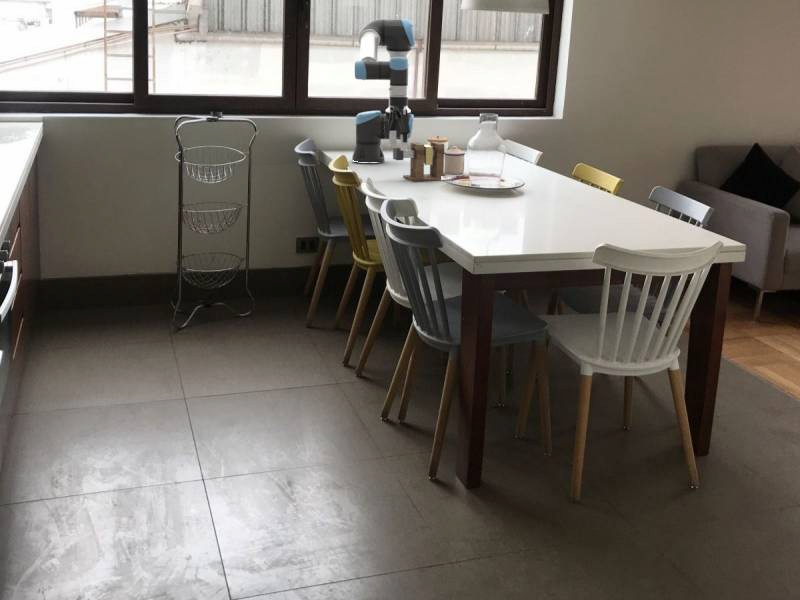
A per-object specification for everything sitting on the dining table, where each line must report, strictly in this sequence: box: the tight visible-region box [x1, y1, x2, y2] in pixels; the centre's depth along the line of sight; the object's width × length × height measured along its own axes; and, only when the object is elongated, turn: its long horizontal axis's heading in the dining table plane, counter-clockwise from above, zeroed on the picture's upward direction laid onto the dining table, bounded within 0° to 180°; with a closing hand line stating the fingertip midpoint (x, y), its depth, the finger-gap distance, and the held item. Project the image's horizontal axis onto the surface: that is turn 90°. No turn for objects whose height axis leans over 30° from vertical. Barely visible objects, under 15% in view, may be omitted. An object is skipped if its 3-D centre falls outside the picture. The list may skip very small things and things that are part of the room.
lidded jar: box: [426, 134, 450, 153], centre depth 473 cm, size 11×11×9 cm
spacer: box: [423, 144, 433, 166], centre depth 400 cm, size 7×3×8 cm, turn 20°
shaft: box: [392, 147, 436, 161], centre depth 399 cm, size 4×20×4 cm, turn 110°
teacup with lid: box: [444, 145, 466, 175], centre depth 419 cm, size 12×9×12 cm
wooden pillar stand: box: [402, 141, 446, 183], centre depth 401 cm, size 12×17×15 cm
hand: (398, 148), depth 395 cm, fingers open, 13 cm apart
